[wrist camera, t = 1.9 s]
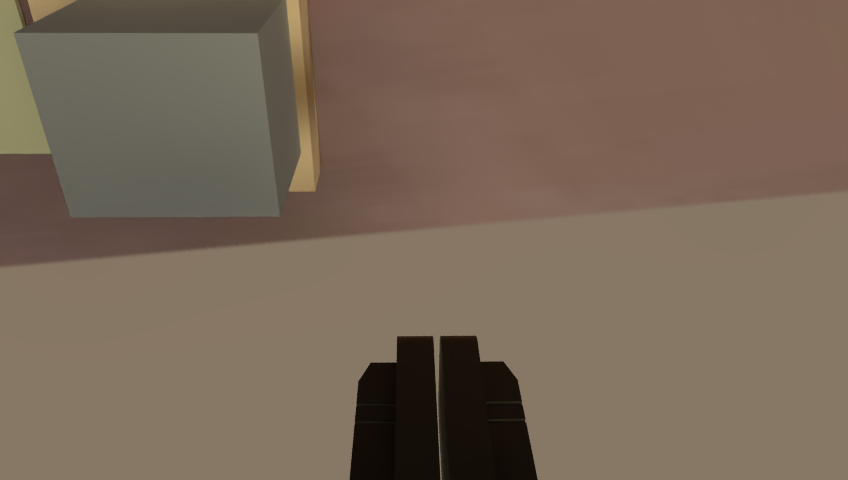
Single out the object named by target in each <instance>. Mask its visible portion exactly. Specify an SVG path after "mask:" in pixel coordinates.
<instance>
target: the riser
mask: <svg viewBox="0 0 848 480" xmlns="http://www.w3.org/2000/svg"><path fill="white" fill-rule="evenodd" d="M27 1H28V4H29V7H30V11H31V14H32V18H33V21H34V22H36V21H38V20H40V19H42V18H44V17H45V16H47V15H49V14H51V13H53V12H55V11H57V10H59V9H61V8H63V7H65V6H67V5H69V4H71V3H73V2H75V1H77V0H27ZM286 3H287V13H288V23H289V34H290V44H291V54H292V65H293V75H294V85H295V96H296V106H297V116H298V127H299V137H300V147H301V155H300V158H299V161H298V164H297V167H296V170H295V173H294V176H293V179H292V182H291V185H290V188H289V191H288V192H301V191H315V190H316V186H317V183H318V179H319V175H320V171H321V163H320V150H319V138H318V125H317V113H316V101H315V88H314V76H313V64H312V51H311V39H310V27H309V14H308V2H307V0H286Z"/></svg>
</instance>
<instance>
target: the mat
mask: <svg viewBox="0 0 848 480" xmlns="http://www.w3.org/2000/svg"><path fill="white" fill-rule="evenodd" d="M24 27H26V24H25V20H24V17H23V14H22V10H21V7H20V4H19V0H0V154H51V152H50V149H49V146H48V142H47V139H46V136H45V133H44V129H43V126H42V123H41V120H40V117H39V113H38V110H37V107H36V104H35V100H34V97H33V94H32V91H31V88H30V84H29V81H28V78H27V75H26V71H25V68H24V65H23V62H22V59H21V55H20V52H19V49H18V46H17V42H16V39H15V36H14V32H16V31H18V30H20V29H22V28H24Z"/></svg>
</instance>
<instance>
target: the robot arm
mask: <svg viewBox="0 0 848 480" xmlns="http://www.w3.org/2000/svg"><path fill="white" fill-rule="evenodd" d="M438 395H439V396H438V402H439V403H438V405H439V406H438V407H439V433H440V453H441V472H442V480H538V479H537V475H536V469H535V464H534V459H533V454H532V450H531V445H530V440H529V435H528V430H527V425H526V423H525V415H524V410H523V406H522V400H521V395H520V390H519V385H518V380H517V379H516V377H515V376H514V375H513V374H512V372H511V371H510V369H509V368H508V367H507V366H506V364H505V363H504V362H480V357H479V349H478V342H477V337H476V336H440V354H439V392H438ZM439 463H440V462H439V444H438V422H437V403H436V383H435V364H434V343H433V336H407V337H406V336H400V337H399V336H398V337H397V363H370V365H369V366H368V368H367V369H366V371H365V372H364V374H363V376H362V377H361V379H360V380H359V382H358V393H357V407H356V415H355V426H354V438H353V448H352V459H351V470H350V480H440V464H439Z"/></svg>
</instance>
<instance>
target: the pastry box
mask: <svg viewBox="0 0 848 480" xmlns="http://www.w3.org/2000/svg"><path fill="white" fill-rule="evenodd" d="M14 36H15V39H16V42H17V46H18V49H19V52H20V55H21V59H22V62H23V65H24V68H25V71H26V75H27V78H28V81H29V84H30V88H31V91H32V94H33V97H34V100H35V104H36V107H37V110H38V113H39V117H40V120H41V123H42V126H43V129H44V133H45V136H46V139H47V142H48V146H49V149H50V152H51V155H52V158H53V162H54V165H55V168H56V171H57V175H58V178H59V181H60V184H61V188H62V191H63V194H64V197H65V200H66V204H67V207H68V210H69V213H70V217H71V218H108V217H280V215H281V212H282V209H283V206H284V203H285V200H286V197H287V194H288V191H289V188H290V185H291V182H292V179H293V176H294V173H295V170H296V167H297V164H298V161H299V158H300V155H301V147H300V137H299V127H298V116H297V106H296V96H295V85H294V75H293V65H292V54H291V44H290V34H289V23H288V13H287V3H286V0H77V1H75V2H73V3H71V4H69V5H67V6H65V7H63V8H61V9H59V10H57V11H55V12H53V13H51V14H49V15H47V16H45V17H44V18H42V19H40V20H38V21H36V22H34V23H32V24H30V25H28V26H26V27H24V28H22V29H20V30H18V31H16V32H14Z"/></svg>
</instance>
